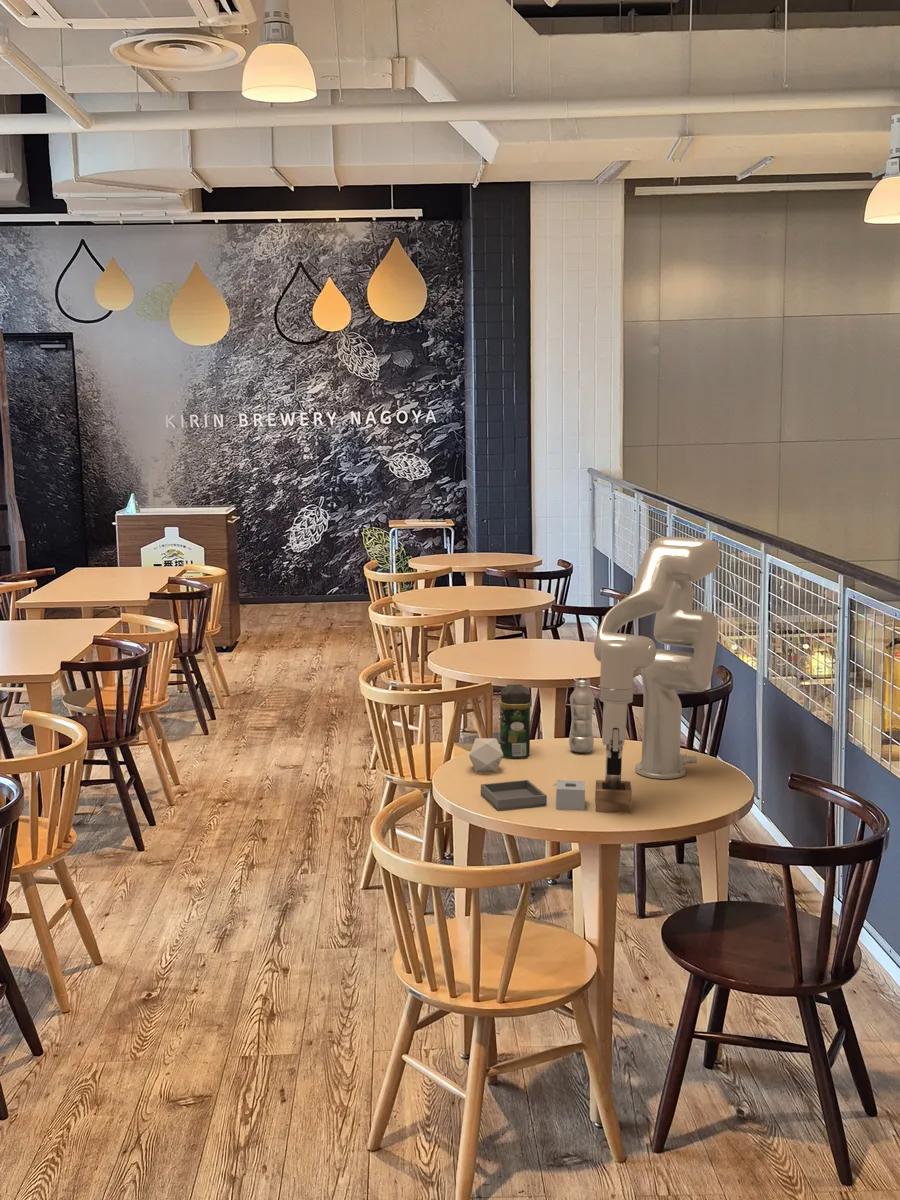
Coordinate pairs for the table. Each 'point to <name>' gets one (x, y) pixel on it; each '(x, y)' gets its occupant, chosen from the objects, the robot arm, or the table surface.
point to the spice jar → (612, 780)
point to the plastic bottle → (581, 717)
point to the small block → (570, 795)
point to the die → (486, 755)
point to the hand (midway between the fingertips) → (613, 771)
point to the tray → (513, 795)
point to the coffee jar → (515, 721)
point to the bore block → (613, 798)
